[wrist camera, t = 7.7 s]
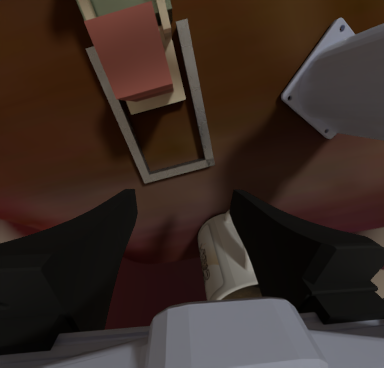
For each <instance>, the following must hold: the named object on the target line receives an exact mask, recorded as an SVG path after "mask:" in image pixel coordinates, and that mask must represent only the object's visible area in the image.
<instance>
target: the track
mask: <svg viewBox="0 0 384 368" xmlns="http://www.w3.org/2000/svg"><path fill="white" fill-rule="evenodd" d="M76 1H77V4H78V6H79V9H80V11H81V14H82V16H83V18H84V21H86V18H85V16H84V14H83V11H82V9H81V6H80V4H79V1H78V0H76ZM149 1H152V5H153V8H154V12H155V16H156V20H157V24H158V25H159V24H161V19H160V14H159V10H158V6H157V2H156V0H90V2H91V4H92V7H93V10H94V12H95V15H96V17H99V16H103V15H106V14H109V13H113V12H116V11H119V10H123V9H126V8H129V7H133V6H136V5H139V4H143V3H146V2H149ZM165 4H166V8H167V12H168V17H169V21H172V6H171V2H170V0H165ZM176 29H177V33H178V38H179V43H180V47H181V52H182V56H183V61H184V66H185V70H186V75H187V80H188V84H189V89H190V93H191V98H192V103H193V107H194V112H195V116H196V121H197V126H198V130H199V135H200V139H201V144H202V149H203V153H204V158H201V159H197V160H193V161H189V162H186V163H182V164H178V165H174V166H171V167H167V168H163V169H159V170H156V171H152V172H150V170H149V167H148V165H147V162H146V160H145V157H144V155H143V152H142V150H141V147H140V145H139V142H138V140H137V137H136V135H135V132H134V130H133V128H132V125H131V123H130V120H129V118H128V115H127V113H126V110H125V108H124V105H123V103H122V100H117V99H116V98H115V95H114V93H113V90H112V88H111V86H110V83H109V81H108V78H107V76H106V74H105V71H104V69H103V66H102V64H101V62H100V59H99V57H98V54H97V52H96V50H95V47H94V46H93V47H90V48H86V51H87V53H88V56H89V58H90V60H91V63H92V65H93V67H94V69H95V72H96V74H97V76H98V79H99V81H100V83H101V85H102V88H103V90H104V92H105V94H106V97H107V99H108V101H109V104H110V106H111V108H112V110H113V113H114V115H115V117H116V119H117V122H118V124H119V126H120V129H121V131H122V133H123V135H124V138H125V140H126V142H127V145H128V147H129V149H130V151H131V154H132V156H133V158H134V160H135V163H136V165H137V167H138V170H139V172H140V174H141V176H142V179H143V181H144V183H149V182H153V181H156V180H160V179H164V178H168V177H172V176H175V175H179V174H183V173H187V172H190V171H194V170H198V169H202V168H205V167H209V166H213V165H215V163H214V158H213V153H212V147H211V142H210V137H209V132H208V126H207V121H206V116H205V110H204V105H203V100H202V95H201V89H200V84H199V79H198V73H197V68H196V63H195V58H194V52H193V47H192V42H191V37H190V31H189V26H188V21H187V19H184V20H181V21H177V22H176Z"/></svg>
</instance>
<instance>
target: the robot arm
mask: <svg viewBox="0 0 384 368" xmlns="http://www.w3.org/2000/svg"><path fill="white" fill-rule="evenodd" d="M340 27H341V31H340ZM289 96H290V99H289V100H288V97H289ZM281 99H282V100H283V101H284V102H285V103H286V104H287V105H288V106H289V107H291V108H292V109H293V110H294V111H295V112H296V113H298V114H299V115H300V116H301V117H302V118H303V119H304V120H306V121H307V122H308V123H309V124H310V125H311V126H313V127H314V128H315V129H316V130H317V131H318V132H319V133H321V134H322V135H323V136H324V137H325V138H327V139H331V138H333V137H334V136H335V135H336V134H337V133H341V134H347V135H353V136H359V137H366V138H372V139H378V140H384V23H383V24H381V25H378V26H376V27H373V28H371V29H368V30H366V31H363V32H361V33H358V34H356V35H355V34H354V33H353V31H352V30H351V29H350V27H349V26H348V25H347V23H346V22H345V21H344V19H343V18H339V19H337V20H335V21H334V22H333V23H332V25H331V26H330V27H329V29H328V30H327V32H326V33H325V34H324V36H323V37H322V38H321V40H320V41H319V43H318V44H317V45H316V47H315V48H314V50H313V51H312V52H311V54H310V55H309V56H308V58H307V59H306V61H305V62H304V63H303V65H302V66H301V68H300V69H299V70H298V72H297V73H296V75H295V76H294V77H293V79H292V80H291V81H290V83H289V84H288V86H287V87H286V88H285V90H284V91H283V93H282V94H281ZM325 130H326V131H325ZM229 213H230V216H231V219H232V222H233V225H234V227H235V229H236V231H237V233H238V235H239V237H240V239H241V241H242V243H243V245H244V247H245V249H246V251H247V254H248V256H249V259H250V262H251V264H252V267H253V270H254V273H255V276H256V279H257V282H258V285H259V288H260V292H261V295H262V297H255V298H241V299H227V300H212V301H198V302H187V303H182V304H178V305H173V306H169V307H168V308H166V309H164V310H163V311H161V312H160V313H158V314H157V315H156V316H155V317H154V318H153V320H152V323H151V325H150V326H146V327H133V328H122V329H110V330H104V329H105V324H106V319H107V315H108V310H109V306H110V301H111V298H112V293H113V289H114V286H115V282H116V278H117V274H118V270H119V267H120V263H121V260H122V257H123V254H124V251H125V249H126V246H127V244H128V241H129V239H130V236H131V234H132V231H133V228H134V226H135V222H136V218H137V214H138V212H137V204H136V196H135V189H125V190H123V191H121V192H120V193H118V194H117V195H115V196H114V197H112V198H110V199H109V200H107V201H106V202H104V203H102V204H101V205H99V206H97V207H95V208H94V209H92V210H90V211H88V212H86V213H84V214H82V215H80V216H78V217H76V218H74V219H72V220H69V221H67V222H64V223H62V224H59V225H57V226H54V227H52V228H49V229H46V230H43V231H40V232H38V233H35V234H31V235H28V236H25V237H22V238H19V239H15V240H11V241H8V242H4V243H0V368H384V298H383V299H382V298H381V297H380V296H379V295H378V294H377V293H375V291H377V290H378V288H377V286H376V285H375V284H373V283H372V282H371V281H370V280H371V279H372V278H373V277H374V275H375V274H376V273H377V272H378V271H379V270H380V269H381V268H382V267H383V265H384V248H383V247H382V246H380V245H379V244H377V243H376V242H375V241H373V240H371V239H370V238H368V237H365V236H361V235H356V234H352V233H348V232H344V231H339V230H336V229H332V228H328V227H325V226H321V225H318V224H315V223H312V222H309V221H306V220H303V219H300V218H298V217H295V216H293V215H290V214H288V213H286V212H283V211H281V210H279V209H277V208H275V207H273V206H271V205H269V204H267V203H265V202H264V201H262V200H260V199H258V198H257V197H255V196H253V195H251V194H249V193H248V192H246V191H244V190H234V191H233V196H232V201H231V206H230V211H229Z"/></svg>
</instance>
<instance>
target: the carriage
mask: <svg viewBox="0 0 384 368" xmlns="http://www.w3.org/2000/svg"><path fill="white" fill-rule="evenodd" d="M78 1H79V4H80V6H81V9H82V11H83V14H84V16H85V18H86V21H84V23H85V25H86V28H87V30H88V33H89V35H90V38H91V40H92V42H93V45H94V47H95V50H96V52H97V54H98V57H99V59H100V62H101V64H102V66H103V69H104V71H105V74H106V76H107V78H108V81H109V83H110V86H111V88H112V90H113V93H114V95H115V98H116V99H117V100H125V101H126V103H127V105H128V108H129V110H130V113H131V115H133V114H137V113H140V112H144V111H147V110H151V109H154V108H158V107H162V106H165V105H169V104H172V103H176V102H179V101H183V100H186V97H185V93H184V89H183V84H182V80H181V76H180V72H179V67H178V63H177V59H176V54H175V50H174V46H173V41H172V35H171V25H170V21H169V17H168V12H167V8H166V4H165V0H156V2H157V6H158V10H159V14H160V19H161V24H162V25H161V26H158V24H157V20H156V16H155V12H154V8H153V5H152V1H149V2H146V3H143V4H139V5H136V6H133V7H129V8H126V9H123V10H119V11H116V12H113V13H109V14H106V15H103V16H99V17H96V15H95V12H94V10H93V7H92V4H91V2H90V0H78Z"/></svg>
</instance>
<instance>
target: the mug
mask: <svg viewBox="0 0 384 368" xmlns="http://www.w3.org/2000/svg"><path fill="white" fill-rule="evenodd" d="M229 211H230V209H229V210H228V211H227V212H226V213H225V214H220V215H217V216H215V217H213V218H211V219H209V220H208V221H207V222H206V223H205V224H204V225H203V226H202V227H201V229H200V231H199V233H198V246H199V252H200V258H201V264H202V271H203V277H204V284H205V290H206V296H207V301H212V300H227V299H241V298H255V297H262V295H261V292H260V288H259V285H258V282H257V279H256V276H255V273H254V270H253V267H252V264H251V262H250V259H249V256H248V254H247V251H246V249H245V247H244V245H243V243H242V241H241V239H240V237H239V235H238V233H237V231H236V229H235V227H234V225H233V222H232V219H231V216H230V213H229Z"/></svg>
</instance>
